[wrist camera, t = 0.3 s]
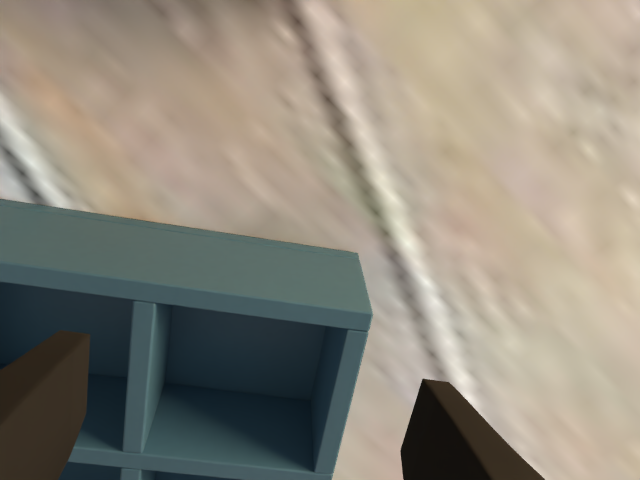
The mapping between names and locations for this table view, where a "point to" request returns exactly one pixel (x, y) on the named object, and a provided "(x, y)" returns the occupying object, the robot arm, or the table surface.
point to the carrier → (189, 342)
